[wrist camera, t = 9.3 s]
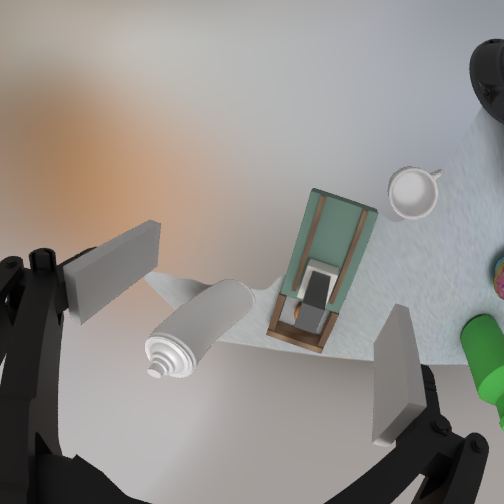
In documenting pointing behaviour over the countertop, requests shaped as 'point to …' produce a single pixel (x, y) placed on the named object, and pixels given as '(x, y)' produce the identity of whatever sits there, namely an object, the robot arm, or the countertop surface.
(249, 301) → the spray can
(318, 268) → the block
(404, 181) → the teacup
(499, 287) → the cupcake
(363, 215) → the rails
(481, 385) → the bottle
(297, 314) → the ball
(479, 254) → the countertop surface
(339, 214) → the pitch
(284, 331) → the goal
